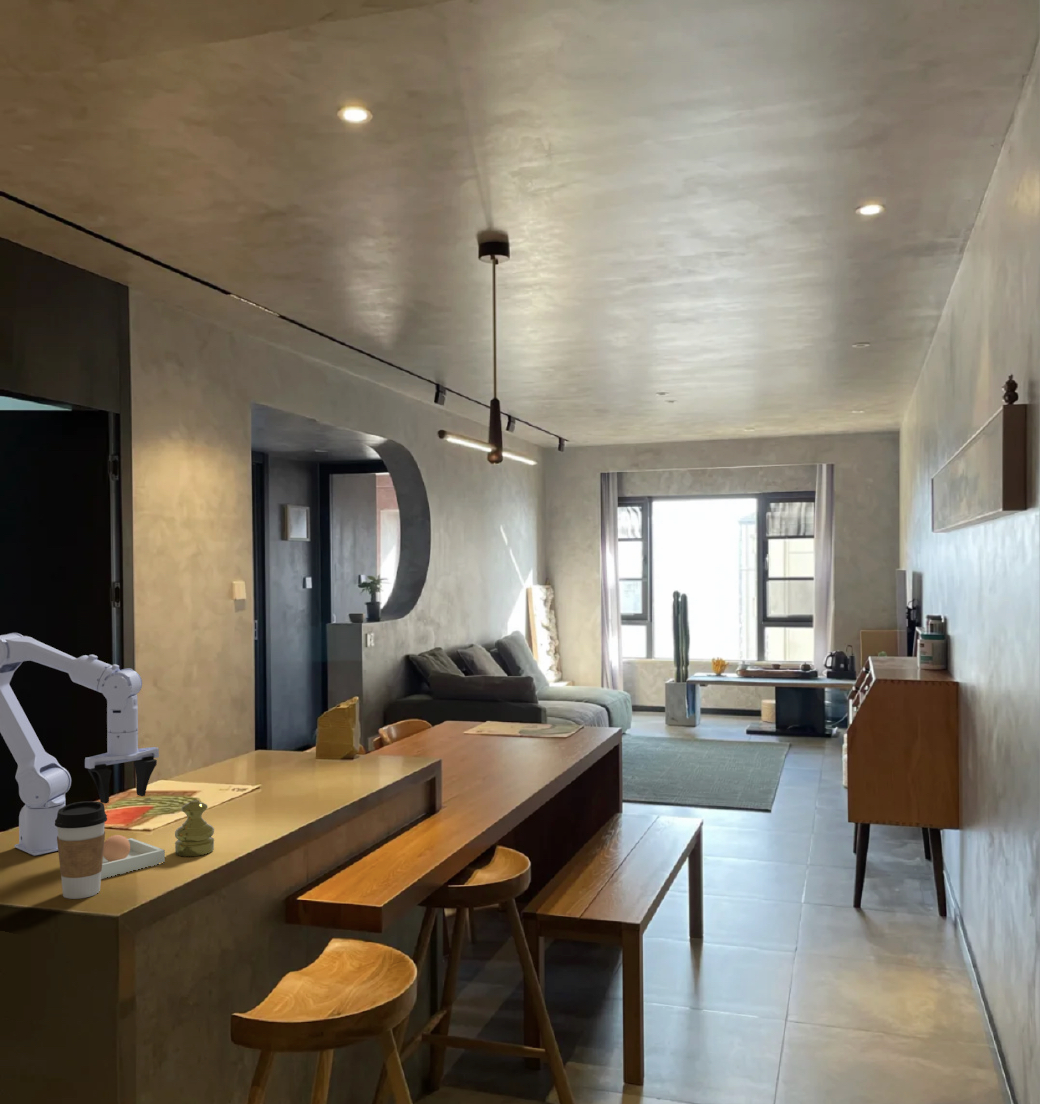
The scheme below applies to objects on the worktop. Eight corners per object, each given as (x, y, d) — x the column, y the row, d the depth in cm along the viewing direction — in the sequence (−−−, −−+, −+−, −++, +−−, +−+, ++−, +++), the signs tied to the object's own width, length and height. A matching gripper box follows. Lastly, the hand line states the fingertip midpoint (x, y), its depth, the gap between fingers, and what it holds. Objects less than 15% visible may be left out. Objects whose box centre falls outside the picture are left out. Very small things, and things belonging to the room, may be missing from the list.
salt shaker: (172, 858, 195) (172, 806, 195) (177, 847, 202) (177, 797, 202) (212, 856, 197) (211, 804, 197) (216, 845, 204) (215, 795, 204)
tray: (68, 865, 191) (68, 852, 191) (131, 850, 200) (131, 838, 200) (100, 879, 183) (100, 865, 183) (164, 863, 192) (164, 849, 192)
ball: (98, 862, 192) (96, 836, 191) (124, 854, 195) (122, 829, 195) (110, 868, 188) (108, 842, 188) (135, 860, 192) (133, 834, 191)
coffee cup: (115, 884, 180) (114, 800, 180) (96, 901, 171) (96, 812, 171) (67, 885, 179) (66, 801, 179) (46, 902, 171) (45, 813, 171)
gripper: (96, 738, 194) (97, 809, 194) (166, 728, 205) (166, 795, 205) (79, 734, 199) (80, 803, 198) (148, 724, 209) (149, 790, 209)
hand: (123, 798), depth 202 cm, fingers open, 7 cm apart
